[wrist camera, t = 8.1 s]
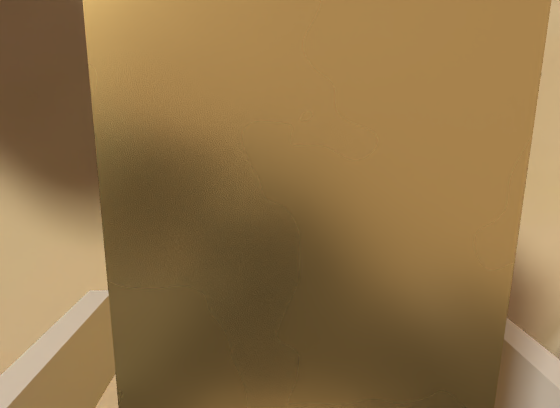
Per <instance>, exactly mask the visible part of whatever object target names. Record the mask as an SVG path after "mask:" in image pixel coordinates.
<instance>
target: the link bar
mask: <svg viewBox="0 0 560 408" xmlns="http://www.w3.org/2000/svg"><path fill="white" fill-rule="evenodd" d="M82 1H83V12H84V24H85V35H86V46H87V57H88V68H89V80H90V91H91V102H92V113H93V125H94V136H95V147H96V158H97V169H98V181H99V192H100V203H101V214H102V226H103V237H104V248H105V259H106V271H107V282H108V293H109V304H110V315H111V327H112V338H113V349H114V360H115V372H116V383H117V394H118V405H119V408H494V405H495V398H496V391H497V384H498V377H499V370H500V362H501V355H502V348H503V341H504V334H505V327H506V320H507V313H508V305H509V298H510V291H511V284H512V277H513V270H514V263H515V255H516V248H517V241H518V234H519V227H520V220H521V213H522V205H523V198H524V191H525V184H526V177H527V170H528V163H529V156H530V148H531V141H532V134H533V127H534V120H535V113H536V106H537V98H538V91H539V84H540V77H541V70H542V63H543V56H544V48H545V41H546V34H547V27H548V20H549V13H550V6H551V0H82Z"/></svg>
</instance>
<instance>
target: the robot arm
mask: <svg viewBox="0 0 560 408" xmlns="http://www.w3.org/2000/svg"><path fill="white" fill-rule="evenodd" d="M115 373H116V372H115V360H114V349H113V338H112V327H111V315H110V304H109V293H108V290H89V291H88V292H87V293H86V294H85V295H84V296H83V297H82V298H81V299H80V300H79V301H78V302H77V303H76V304H75V305H74V306H72V307H71V308H70V309H69V310H68V311H67V312H66V313H65V314H64V315H63V316H62V317H61V318H60V319H59V320H58V321H57V322H56V323H55V324H54V325H53V326H51V327H50V328H49V329H48V330H47V331H46V332H45V333H44V334H43V335H42V336H41V337H40V338H39V339H38V340H37V341H36V342H35V343H34V344H33V345H32V346H31V347H29V348H28V349H27V350H26V351H25V352H24V353H23V354H22V355H21V356H20V357H19V358H18V359H17V360H16V361H15V362H14V363H13V364H12V365H11V366H10V367H9V368H7V369H6V370H5V371H4V372H3V373H2V374H1V375H0V408H95V407H96V405H97V403H98V402H99V400H100V398H101V397H102V395H103V393H104V392H105V390H106V388H107V386H108V385H109V383H110V381H111V380H112V378H113V376H114V375H115ZM494 408H560V360H559V359H558V358H557V357H555V356H554V355H553V354H552V353H550V352H549V351H548V350H547V349H545V348H544V347H543V346H542V345H540V344H539V343H538V342H537V341H535V340H534V339H533V338H532V337H531V336H529V335H528V334H527V333H526V332H524V331H523V330H522V329H521V328H519V327H518V326H517V325H516V324H514V323H513V322H512V321H511V320H509V319H508V318H507V320H506V327H505V334H504V341H503V348H502V355H501V362H500V370H499V377H498V384H497V391H496V398H495V405H494Z"/></svg>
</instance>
